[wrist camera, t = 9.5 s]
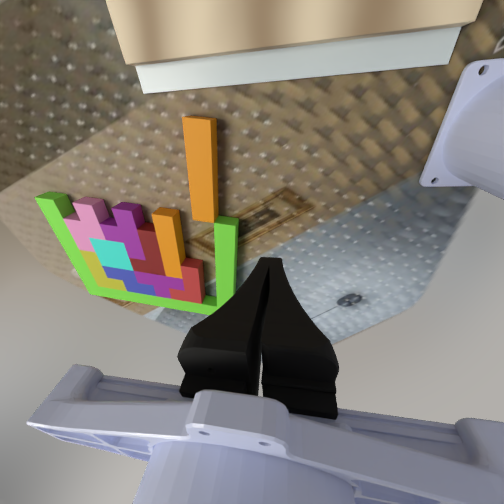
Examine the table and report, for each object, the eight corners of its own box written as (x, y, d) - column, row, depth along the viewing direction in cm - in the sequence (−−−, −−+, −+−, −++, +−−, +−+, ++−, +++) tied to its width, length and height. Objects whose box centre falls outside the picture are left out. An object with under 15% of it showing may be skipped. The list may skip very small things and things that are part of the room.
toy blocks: (235, 306, 33) (244, 120, 18) (232, 319, 31) (239, 123, 16) (100, 283, 34) (4, 95, 19) (90, 294, 33) (-25, 94, 18)
